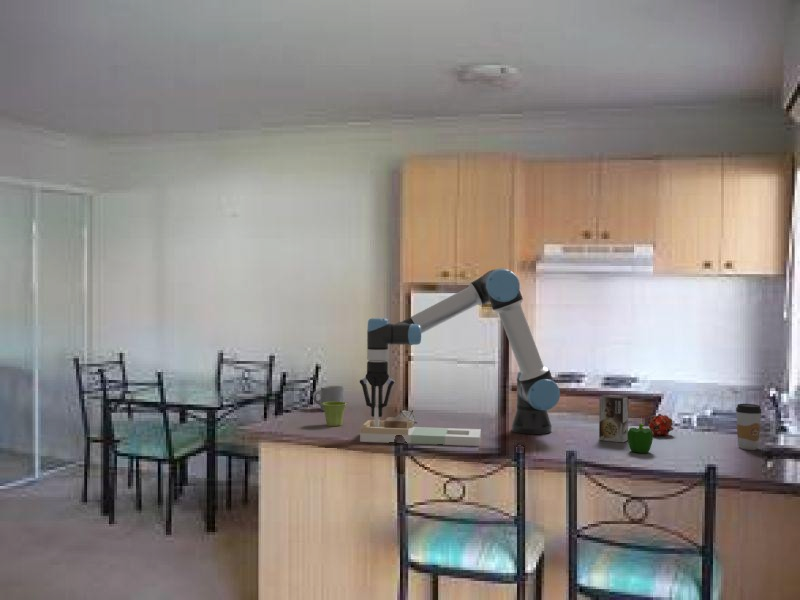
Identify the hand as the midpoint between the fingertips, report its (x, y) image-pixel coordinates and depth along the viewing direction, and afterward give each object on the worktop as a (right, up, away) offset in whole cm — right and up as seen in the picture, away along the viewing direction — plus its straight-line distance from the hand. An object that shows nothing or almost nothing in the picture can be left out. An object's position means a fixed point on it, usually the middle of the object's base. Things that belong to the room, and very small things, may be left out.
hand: (376, 425), depth 290 cm
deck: (+16, -5, -2) cm, 17 cm away
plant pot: (-18, -4, +25) cm, 31 cm away
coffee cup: (+130, -6, -11) cm, 131 cm away
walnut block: (+7, -2, -1) cm, 8 cm away
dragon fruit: (+107, -6, +11) cm, 107 cm away
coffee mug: (-23, -3, +66) cm, 70 cm away
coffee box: (+86, -6, +1) cm, 86 cm away
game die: (+10, -5, +16) cm, 20 cm away
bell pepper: (+90, -6, -20) cm, 92 cm away
